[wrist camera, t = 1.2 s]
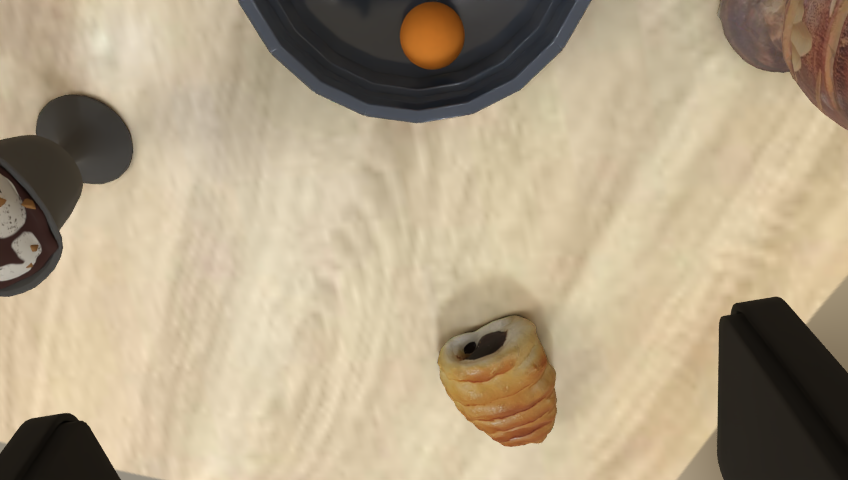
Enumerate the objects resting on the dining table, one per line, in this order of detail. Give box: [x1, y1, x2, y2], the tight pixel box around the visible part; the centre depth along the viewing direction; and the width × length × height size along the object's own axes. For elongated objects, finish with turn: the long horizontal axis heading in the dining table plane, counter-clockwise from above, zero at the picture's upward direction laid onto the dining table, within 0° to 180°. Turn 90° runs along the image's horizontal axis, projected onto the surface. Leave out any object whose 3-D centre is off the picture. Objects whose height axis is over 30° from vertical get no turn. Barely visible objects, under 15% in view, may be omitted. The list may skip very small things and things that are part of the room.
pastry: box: [438, 315, 557, 447], centre depth 41 cm, size 9×7×4 cm
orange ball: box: [400, 2, 465, 70], centre depth 31 cm, size 3×3×3 cm
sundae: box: [0, 95, 133, 297], centre depth 28 cm, size 7×7×15 cm
